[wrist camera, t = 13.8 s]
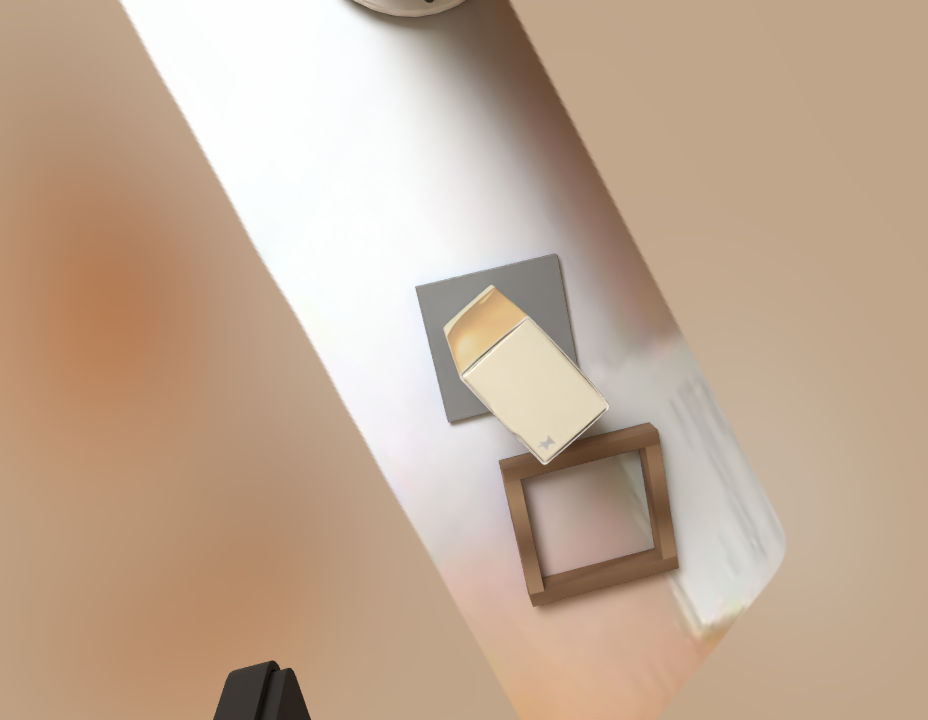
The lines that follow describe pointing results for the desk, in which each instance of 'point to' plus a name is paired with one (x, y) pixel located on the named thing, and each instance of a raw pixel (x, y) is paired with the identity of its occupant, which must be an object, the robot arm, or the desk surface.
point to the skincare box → (522, 375)
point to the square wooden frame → (610, 570)
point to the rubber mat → (521, 283)
